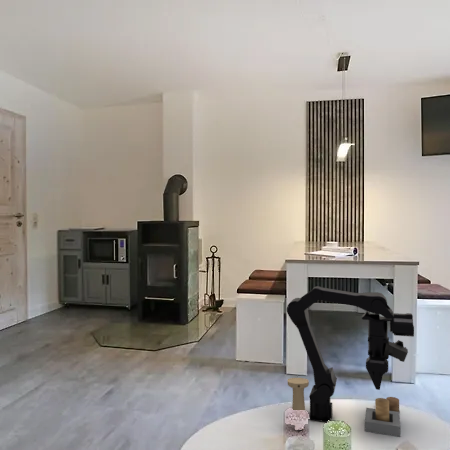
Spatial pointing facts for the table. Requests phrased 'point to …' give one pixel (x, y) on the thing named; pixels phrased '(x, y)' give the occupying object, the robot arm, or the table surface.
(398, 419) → the block
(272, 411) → the table surface
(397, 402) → the short peg
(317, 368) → the robot arm
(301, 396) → the handle
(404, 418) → the table surface
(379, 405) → the long peg
